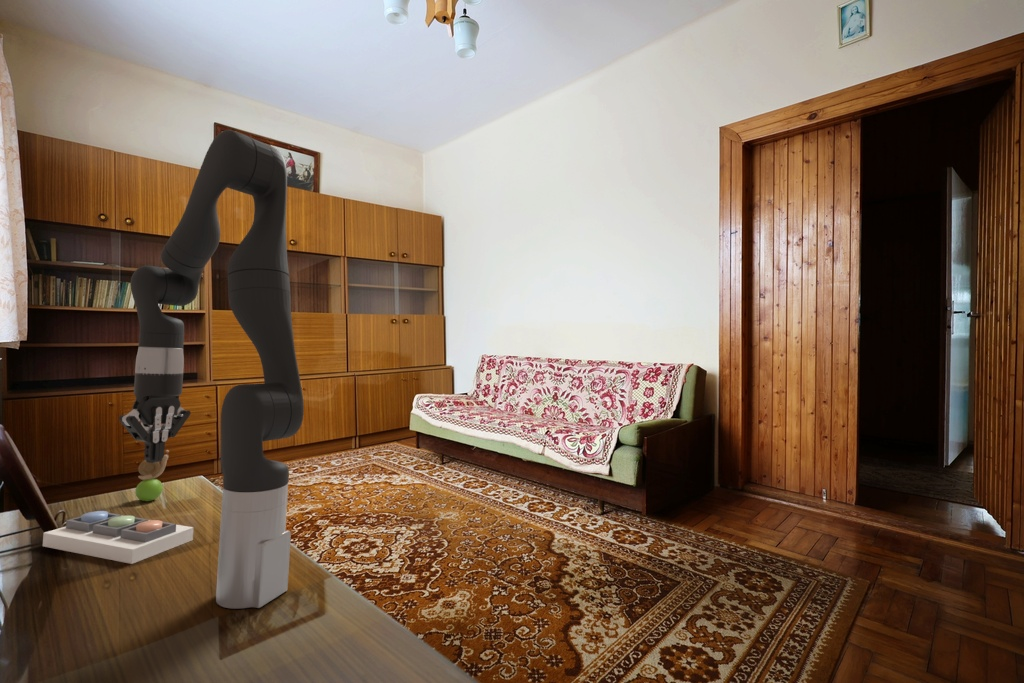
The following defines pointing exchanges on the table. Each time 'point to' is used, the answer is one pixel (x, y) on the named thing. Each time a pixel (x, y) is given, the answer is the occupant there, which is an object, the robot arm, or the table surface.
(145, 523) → the salmon button
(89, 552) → the button panel
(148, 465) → the snail figurine
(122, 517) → the sage button
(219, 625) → the table surface
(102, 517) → the slate button
